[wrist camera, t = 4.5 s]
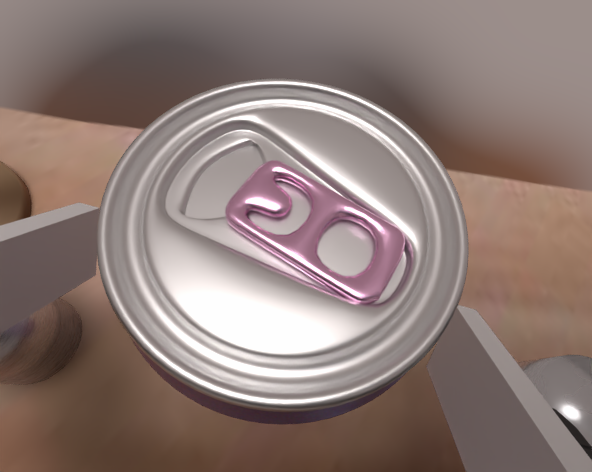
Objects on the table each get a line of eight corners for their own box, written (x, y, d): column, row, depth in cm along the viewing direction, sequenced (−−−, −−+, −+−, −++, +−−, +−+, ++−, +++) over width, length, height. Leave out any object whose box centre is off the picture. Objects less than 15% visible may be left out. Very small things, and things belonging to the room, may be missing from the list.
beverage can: (287, 431, 17) (379, 560, 3) (192, 362, 18) (-24, 252, 4) (344, 329, 19) (528, 169, 6) (258, 273, 20) (246, 27, 7)
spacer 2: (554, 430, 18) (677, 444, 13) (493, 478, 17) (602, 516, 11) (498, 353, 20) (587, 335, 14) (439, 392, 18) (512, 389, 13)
